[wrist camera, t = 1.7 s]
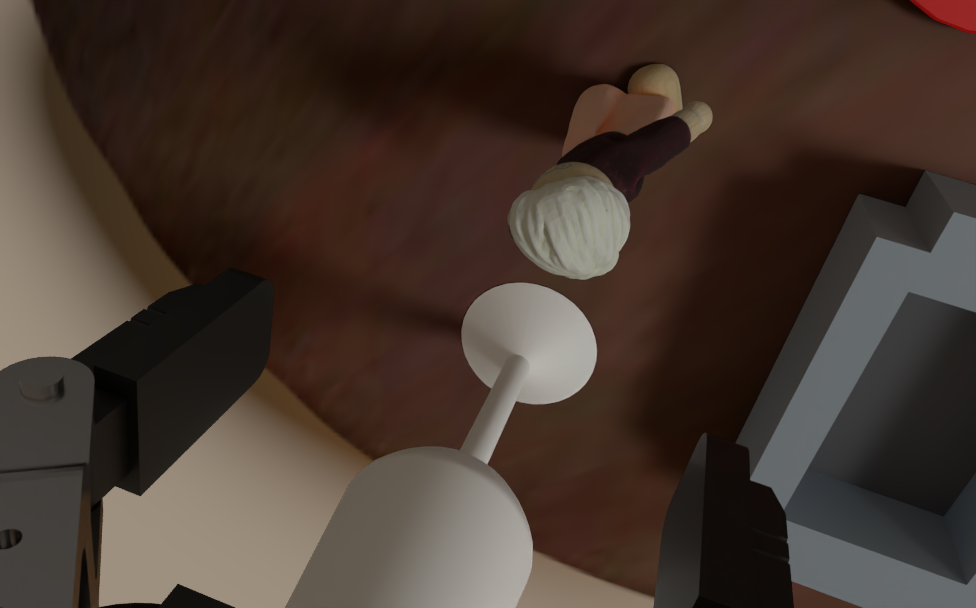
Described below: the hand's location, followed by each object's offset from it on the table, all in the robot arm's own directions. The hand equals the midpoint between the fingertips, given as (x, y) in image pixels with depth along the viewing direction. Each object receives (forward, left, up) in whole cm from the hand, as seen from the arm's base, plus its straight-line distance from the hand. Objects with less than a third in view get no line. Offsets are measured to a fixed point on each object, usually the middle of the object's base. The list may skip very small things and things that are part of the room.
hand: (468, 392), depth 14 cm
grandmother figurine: (0, 0, -20) cm, 20 cm away
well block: (-15, +7, -20) cm, 26 cm away
